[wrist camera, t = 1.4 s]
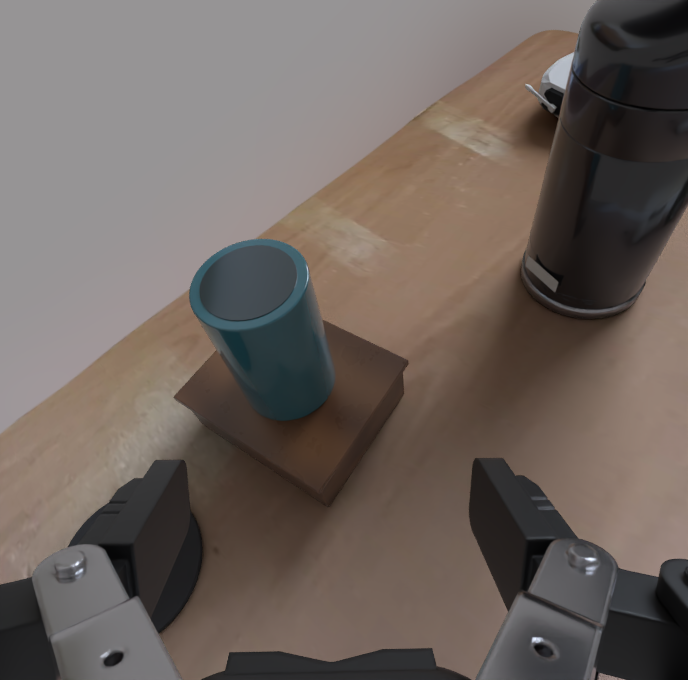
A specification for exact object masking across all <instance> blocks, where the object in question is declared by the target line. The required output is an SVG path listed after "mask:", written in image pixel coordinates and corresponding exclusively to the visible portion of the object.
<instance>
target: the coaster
mask: <svg viewBox="0 0 688 680" xmlns="http://www.w3.org/2000/svg"><path fill="white" fill-rule="evenodd" d="M107 504H109V503H107ZM107 504H106V505H107ZM106 505H105V506H103V507H102V508H100V509H99V510H98V511H97V512H95V513H94V514H93V515H92V516H91V517H90V518H89V519H88V520H87V521H86V522H85V523H84V524H83V525H82V527H81V528H80V529H79V530H78V531H77V533H76V534H75V536H74V537H73V539H72V540H71V542H70V544H69V546H68V547H71V546H76V545H77V544H78V543H79V542H80V540H81V539H82V538H83V536H84V535H85V534H86V532H87V531H88V530H89V528H90V527H91V526H92V524H93V523H94V522H95V520H96V519H97V517H98V516H99V515H100V514H102V511H103V509H104V508H105V507H106ZM201 561H202V538H201V533H200V529H199V526H198V524H197V521H196V519H195V518H194V516H193V514H192V513H191V511H190V523H189V528H188V532H187V535H186V537H185V540H184V542H183V544H182V547H181V549H180V551H179V554H178V556H177V558H176V560H175V563H174V565H173V567H172V570H171V572H170V574H169V577H168V579H167V581H166V584H165V586H164V588H163V591H162V593H161V595H160V598H159V600H158V602H157V604H156V607H155V609H154V611H153V614H152V616H151V618H150V619H151V621H152V623H153V625H154V627H155V628H156V630H157V632H158V634H159V633H160V632H161V631H162V630H164V629H165V628H166V627H167V626H168V625H169V624H170V623H171V622H172V621H173V620H174V619H175V617H176V616H177V615H178V614H179V613H180V611H181V610H182V609H183V607H184V606H185V604H186V602H187V601H188V599H189V597H190V595H191V593H192V591H193V589H194V587H195V584H196V582H197V579H198V575H199V572H200V568H201Z"/></svg>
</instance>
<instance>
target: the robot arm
mask: <svg viewBox="0 0 688 680" xmlns="http://www.w3.org/2000/svg"><path fill="white" fill-rule="evenodd" d="M687 206H688V0H597V1H596V2H595V3H594V4H593V5H592V6H591V8H590V9H589V10H588V12H587V14H586V16H585V18H584V20H583V22H582V25H581V28H580V31H579V35H578V39H577V43H576V48H575V52H574V56H573V60H572V64H571V68H570V72H569V76H568V80H567V84H566V88H565V92H564V97H563V101H562V105H561V110H560V114H559V118H558V122H557V126H556V130H555V135H554V139H553V143H552V147H551V151H550V155H549V159H548V163H547V167H546V171H545V176H544V180H543V184H542V188H541V192H540V196H539V200H538V204H537V208H536V212H535V217H534V221H533V225H532V229H531V232H530V236H529V241H528V245H527V249H526V250H525V253H524V256H523V260H522V264H521V277H522V281H523V283H524V286H525V287H526V289H527V291H528V292H529V293H530V294H531V295H532V297H533V298H534V299H536V300H537V301H538V302H539V303H541V304H542V305H543V306H545V307H547V308H549V309H551V310H552V311H555V312H557V313H560V314H563V315H566V316H570V317H575V318H582V319H598V318H605V317H609V316H613V315H616V314H618V313H620V312H622V311H624V310H626V309H627V308H629V307H630V306H631V305H632V304H633V303H634V302H635V301H636V300H637V298H638V296H639V295H640V293H641V291H642V289H643V287H644V285H645V282H646V279H647V277H648V276H649V274H650V272H651V270H652V268H653V267H654V265H655V263H656V262H657V260H658V258H659V256H660V254H661V253H662V251H663V249H664V247H665V245H666V244H667V242H668V240H669V238H670V236H671V235H672V233H673V231H674V229H675V227H676V226H677V224H678V222H679V220H680V219H681V217H682V215H683V213H684V211H685V210H686V208H687ZM469 518H470V525H471V528H472V531H473V534H474V536H475V538H476V540H477V543H478V545H479V547H480V549H481V552H482V554H483V556H484V558H485V561H486V563H487V565H488V567H489V570H490V572H491V574H492V576H493V579H494V581H495V583H496V585H497V588H498V590H499V592H500V594H501V597H502V599H503V601H504V603H505V605H506V608H507V610H508V614H507V616H506V618H505V620H504V622H503V624H502V626H501V628H500V630H499V632H498V634H497V636H496V638H495V640H494V642H493V644H492V647H491V649H490V651H489V653H488V655H487V657H486V659H485V661H484V663H483V665H482V667H481V669H480V671H479V673H478V675H477V677H476V679H475V680H598V679H599V674H600V673H603V674H606V675H610V676H614V677H618V678H622V679H625V680H688V560H686V559H671V560H668V561H665V562H664V563H663V564H662V565H661V568H660V573H659V577H656V576H651V575H646V574H641V573H636V572H631V571H627V570H623V569H620V568H618V565H617V563H616V561H615V559H614V558H613V557H612V556H611V555H610V554H609V553H608V552H607V551H605V550H604V549H603V548H601V547H599V546H597V545H595V544H593V543H591V542H588V541H585V540H582V539H578V538H577V536H576V535H575V534H574V532H573V531H572V530H571V528H570V527H569V526H568V524H567V523H566V522H565V520H564V519H563V518H562V516H561V515H560V514H559V513H558V511H557V510H555V507H554V506H553V505H552V503H551V502H550V501H549V500H547V497H546V495H545V494H544V493H543V491H542V490H541V489H540V487H539V486H538V485H536V484H535V483H533V482H532V481H530V480H529V479H528V478H526V477H525V476H515V474H514V473H513V472H512V470H511V469H510V467H509V466H508V464H507V463H506V462H505V460H504V459H503V458H475V459H474V462H473V467H472V478H471V490H470V502H469ZM189 523H190V502H189V490H188V478H187V467H186V463H185V461H184V460H156V461H154V463H153V464H152V466H151V467H150V469H149V470H148V471H147V473H146V474H145V476H144V477H143V478H134V479H133V480H131V481H130V482H128V483H127V484H125V485H124V486H122V487H121V488H120V489H118V491H117V492H116V493H115V495H114V496H113V497H112V499H111V500H110V501H109V504H107V505H106V507H105V508H104V509H103V511H102V514H100V515H99V516H98V517H97V519H96V520H95V522H94V523H93V524H92V526H91V527H90V528H89V530H88V531H87V532H86V534H85V535H84V536H83V538H82V539H81V540H80V542H79V543H78V544H77V545H76V546H71V547H68V548H65V549H62V550H60V551H58V552H56V553H54V554H52V555H50V556H49V557H47V558H46V559H45V560H43V561H42V562H41V563H40V564H39V565H38V566H37V568H36V569H35V571H34V573H33V576H32V577H31V578H27V579H23V580H19V581H14V582H10V583H6V584H1V585H0V680H183V679H182V677H181V676H180V674H179V672H178V670H177V668H176V666H175V664H174V662H173V660H172V659H171V657H170V655H169V653H168V651H167V649H166V647H165V645H164V643H163V642H162V640H161V638H160V636H159V634H158V632H157V630H156V628H155V627H154V625H153V623H152V621H151V619H150V618H151V616H152V614H153V611H154V609H155V607H156V604H157V602H158V600H159V598H160V595H161V593H162V591H163V588H164V586H165V584H166V581H167V579H168V577H169V574H170V572H171V570H172V567H173V565H174V563H175V560H176V558H177V556H178V554H179V551H180V549H181V547H182V544H183V542H184V540H185V537H186V535H187V532H188V528H189ZM202 680H471V679H469V678H468V677H466V676H463V675H461V674H459V673H457V672H454V671H451V670H448V669H446V668H442V667H438V666H436V662H435V658H434V654H433V650H432V648H421V649H382V650H378V651H374V652H371V653H367V654H363V655H359V656H355V657H351V658H348V659H344V660H340V661H336V662H326V661H321V660H317V659H312V658H307V657H303V656H298V655H294V654H289V653H284V652H280V651H277V652H229V656H228V661H227V665H226V670H225V671H223V672H219V673H216V674H213V675H211V676H208V677H206V678H204V679H202Z"/></svg>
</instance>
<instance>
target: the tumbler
mask: <svg viewBox="0 0 688 680" xmlns="http://www.w3.org/2000/svg"><path fill="white" fill-rule="evenodd" d="M189 299H190V305H191V308H192V310H193V312H194V314H195V315H196V317H197V319H198V320H199V322H200V324H201V325H202V327H203V329H204V330H205V332H206V334H207V335H208V337H209V339H210V340H211V342H212V344H213V345H214V347H215V349H216V350H217V352H218V354H219V355H220V357H221V359H222V360H223V362H224V363H225V365H226V367H227V368H228V370H229V372H230V373H231V375H232V377H233V378H234V380H235V382H236V383H237V385H238V387H239V388H240V390H241V392H242V393H243V395H244V397H245V398H246V400H247V402H248V403H249V405H250V406H251V407H252V408H253V409H254V410H255V411H256V412H257V413H259V414H260V415H262V416H264V417H266V418H269V419H273V420H279V421H288V420H295V419H298V418H302V417H304V416H307V415H309V414H310V413H312V412H314V411H315V410H316V409H318V408H319V407H320V406H321V405H322V404H323V403H324V402H325V401H326V400H327V398H328V397H329V395H330V394H331V391H332V389H333V387H334V383H335V376H336V372H335V366H334V362H333V359H332V355H331V351H330V347H329V344H328V340H327V336H326V332H325V328H324V325H323V321H322V317H321V313H320V310H319V306H318V302H317V298H316V295H315V291H314V287H313V283H312V280H311V276H310V272H309V268H308V265H307V262H306V261H305V259H304V257H303V256H302V255H301V253H300V252H298V251H297V250H296V249H295V248H293V247H292V246H290V245H288V244H286V243H284V242H281V241H277V240H271V239H252V240H247V241H243V242H239V243H236V244H233V245H230V246H228V247H226V248H224V249H222V250H220V251H219V252H217V253H216V254H214V255H213V256H211V257H210V258H209V259H208V260H207V261H206V262H205V263H204V264H203V265H202V266H201V267H200V268H199V270H198V271H197V273H196V274H195V276H194V278H193V281H192V283H191V286H190V292H189Z"/></svg>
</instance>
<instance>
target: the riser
mask: <svg viewBox="0 0 688 680" xmlns="http://www.w3.org/2000/svg"><path fill="white" fill-rule="evenodd" d="M322 321H323V325H324V328H325V332H326V336H327V340H328V344H329V347H330V351H331V355H332V359H333V362H334V366H335V372H336V376H335V383H334V387H333V389H332V391H331V394H330V395H329V397H328V398H327V400H326V401H325V402H324V403H323V404H322V405H321V406H320V407H319V408H318V409H316V410H315V411H314V412H312V413H310V414H309V415H307V416H304V417H302V418H298V419H295V420H288V421H279V420H273V419H269V418H266V417H264V416H262V415H260V414H259V413H257V412H256V411H255V410H254V409H253V408H252V407H251V406H250V405H249V403H248V402H247V400H246V398H245V397H244V395H243V393H242V392H241V390H240V388H239V387H238V385H237V383H236V382H235V380H234V378H233V377H232V375H231V373H230V372H229V370H228V368H227V367H226V365H225V363H224V362H223V360H222V359H221V357H220V355H219V354H218V352H217V350H216V351H215V352H214V353H213V354H212V356H211V357H210V358H209V359H208V360H207V361H206V362H205V363H204V364H203V365H202V366H201V368H200V369H199V370H198V371H197V372H196V373H195V374H194V375H193V376H192V377H191V378H190V380H189V381H188V382H187V383H186V384H185V385H184V386H183V387H182V388H181V389H180V390H179V392H178V393H177V394H176V395H175V396H174V398H175V400H176V401H178V402H179V403H181V404H182V405H184V406H185V407H187V408H189V409H190V410H192V412H193V413H194V414H195V415H196V416H197V418H198V419H199V420H200V421H201V423H202V424H204V425H205V426H207V427H208V428H210V429H211V430H213V431H214V432H216V433H217V434H219V435H220V436H222V437H223V438H225V439H226V440H228V441H229V442H231V443H232V444H234V445H235V446H237V447H238V448H240V449H241V450H243V451H244V452H246V453H247V454H249V455H250V456H252V457H253V458H255V459H256V460H258V461H259V462H261V463H262V464H264V465H265V466H267V467H268V468H270V469H271V470H273V471H274V472H276V473H277V474H279V475H280V476H282V477H283V478H285V479H286V480H288V481H289V482H291V483H292V484H294V485H295V486H297V487H298V488H300V489H302V490H303V491H305V492H306V493H308V494H309V495H311V496H312V497H314V498H315V499H317V500H318V501H320V502H321V503H323V504H324V505H326V506H327V507H329V506H330V505H331V503H332V502H333V500H334V499H335V497H336V496H337V494H338V493H339V491H340V490H341V488H342V486H343V485H344V483H345V482H346V480H347V479H348V477H349V476H350V474H351V473H352V471H353V470H354V468H355V467H356V465H357V464H358V462H359V461H360V459H361V458H362V456H363V455H364V453H365V452H366V450H367V449H368V447H369V446H370V444H371V443H372V441H373V440H374V438H375V437H376V435H377V434H378V432H379V431H380V429H381V428H382V426H383V425H384V423H385V422H386V420H387V418H388V417H389V415H390V414H391V412H392V411H393V409H394V408H395V406H396V405H397V403H398V402H399V400H400V399H401V397H402V396H403V394H404V386H403V371H404V370H405V368H406V367H407V365H408V360H406V359H404V358H402V357H400V356H398V355H396V354H394V353H392V352H390V351H388V350H385V349H383V348H381V347H379V346H377V345H375V344H373V343H371V342H369V341H366V340H364V339H362V338H360V337H358V336H356V335H354V334H352V333H350V332H347V331H345V330H343V329H341V328H339V327H337V326H335V325H333V324H331V323H328V322H326V321H324V320H322Z"/></svg>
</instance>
